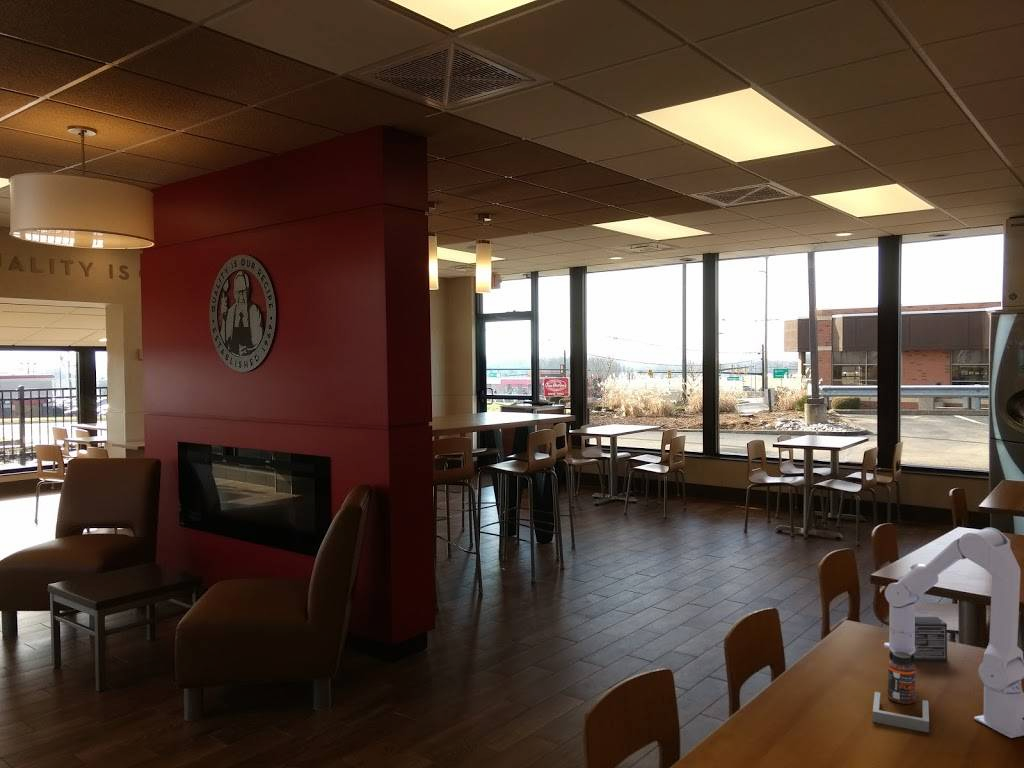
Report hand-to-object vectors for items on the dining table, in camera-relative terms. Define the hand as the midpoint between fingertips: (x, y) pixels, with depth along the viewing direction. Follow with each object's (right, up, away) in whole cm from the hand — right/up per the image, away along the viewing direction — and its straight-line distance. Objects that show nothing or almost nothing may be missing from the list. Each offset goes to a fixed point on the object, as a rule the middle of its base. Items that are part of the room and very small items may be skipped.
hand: (901, 681), depth 194 cm
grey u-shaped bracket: (-8, -2, -14) cm, 17 cm away
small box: (+15, -1, +19) cm, 24 cm away
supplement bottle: (-3, -2, -6) cm, 8 cm away
